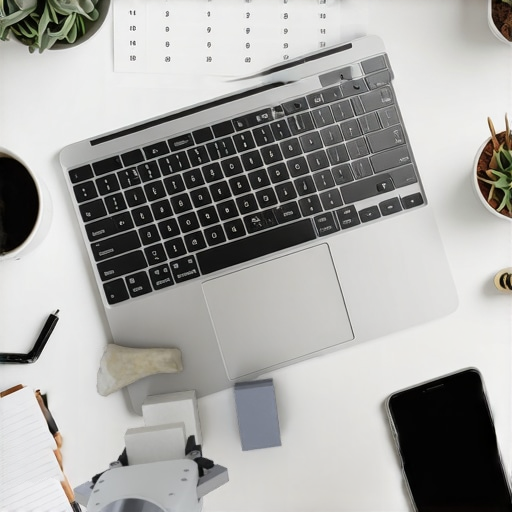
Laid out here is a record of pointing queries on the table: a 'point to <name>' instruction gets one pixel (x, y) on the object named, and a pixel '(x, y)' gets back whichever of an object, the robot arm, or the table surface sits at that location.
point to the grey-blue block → (257, 414)
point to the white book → (155, 443)
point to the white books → (174, 411)
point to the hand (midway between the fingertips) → (162, 452)
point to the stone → (133, 366)
